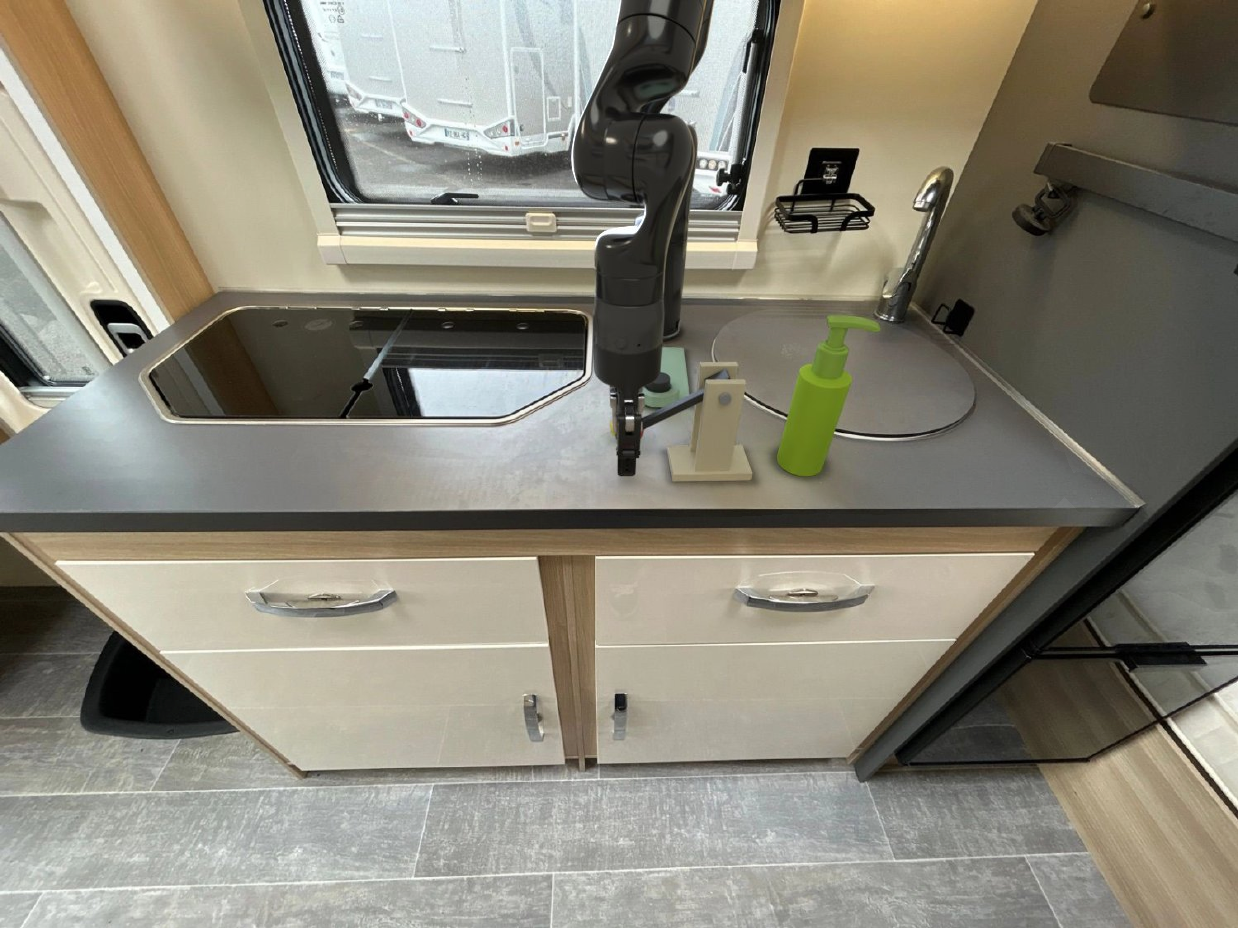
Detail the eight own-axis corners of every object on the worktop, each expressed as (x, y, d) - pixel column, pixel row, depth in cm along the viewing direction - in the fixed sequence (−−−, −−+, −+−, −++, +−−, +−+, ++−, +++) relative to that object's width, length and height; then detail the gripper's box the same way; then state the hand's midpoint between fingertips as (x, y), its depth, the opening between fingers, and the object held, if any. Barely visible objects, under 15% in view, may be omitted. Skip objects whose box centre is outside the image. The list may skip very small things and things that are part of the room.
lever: (625, 453, 64) (611, 434, 62) (624, 437, 67) (610, 418, 65) (740, 399, 60) (729, 377, 58) (733, 384, 63) (723, 362, 61)
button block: (627, 349, 94) (627, 336, 92) (683, 351, 93) (684, 338, 92) (623, 410, 78) (624, 395, 77) (690, 412, 78) (692, 398, 77)
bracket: (672, 481, 66) (682, 386, 57) (667, 452, 70) (675, 360, 62) (751, 480, 66) (772, 385, 57) (740, 451, 71) (759, 359, 62)
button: (645, 381, 81) (646, 371, 80) (669, 381, 81) (670, 371, 80) (645, 393, 78) (646, 383, 77) (670, 394, 78) (671, 383, 77)
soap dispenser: (833, 480, 66) (886, 333, 54) (777, 472, 67) (816, 326, 55) (828, 452, 71) (876, 311, 58) (776, 446, 72) (812, 305, 59)
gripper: (670, 367, 51) (659, 493, 61) (656, 307, 62) (649, 423, 72) (593, 367, 50) (595, 494, 61) (593, 308, 62) (595, 423, 72)
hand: (624, 455), depth 67 cm, fingers open, 7 cm apart
